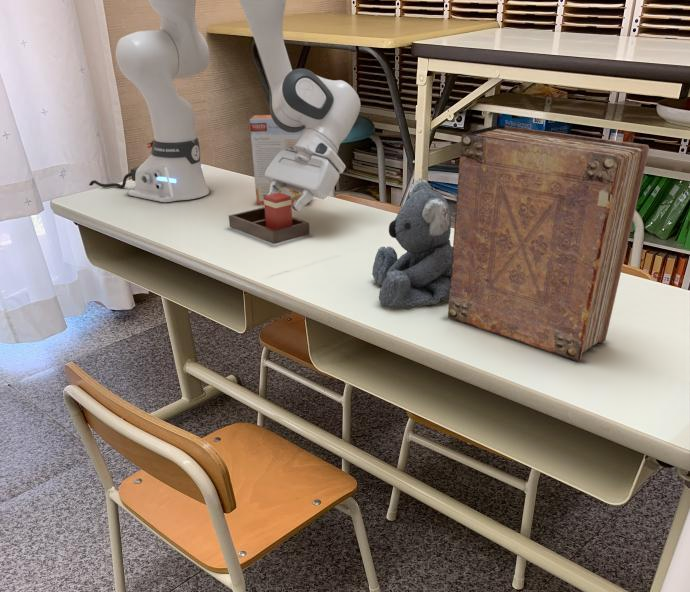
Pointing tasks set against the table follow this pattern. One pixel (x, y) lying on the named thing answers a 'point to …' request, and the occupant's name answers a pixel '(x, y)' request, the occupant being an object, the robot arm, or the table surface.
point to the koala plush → (417, 252)
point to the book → (542, 234)
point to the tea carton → (278, 211)
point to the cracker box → (269, 152)
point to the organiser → (256, 226)
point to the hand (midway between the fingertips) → (282, 205)
